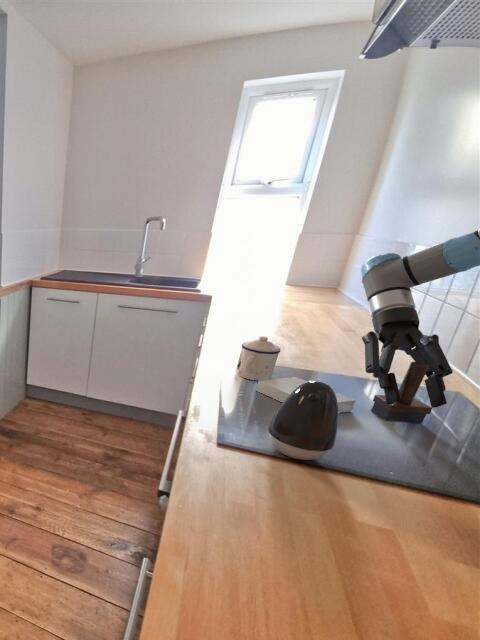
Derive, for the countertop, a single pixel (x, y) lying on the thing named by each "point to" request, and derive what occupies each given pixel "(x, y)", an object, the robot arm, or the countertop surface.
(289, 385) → the white tile
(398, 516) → the countertop surface
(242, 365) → the teacup with lid
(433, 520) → the countertop surface
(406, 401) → the scrub brush
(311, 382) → the dark grey egg-shaped speaker
